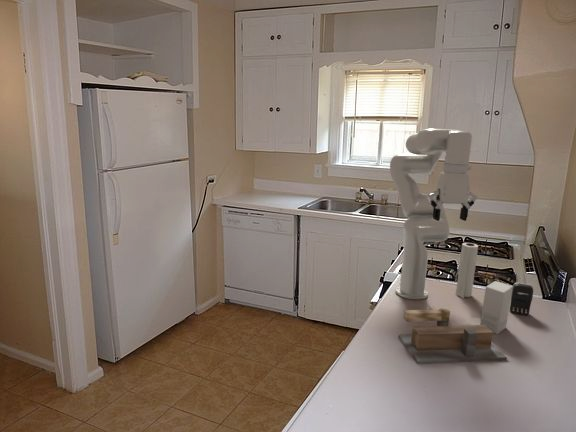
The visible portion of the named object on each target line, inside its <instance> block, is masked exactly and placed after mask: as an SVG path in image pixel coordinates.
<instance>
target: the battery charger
mask: <svg viewBox="0 0 576 432" xmlns="http://www.w3.org/2000/svg"><path fill="white" fill-rule="evenodd" d="M512 286H513V289H512V295H511V301H510V307H509V312H510V313H512V314H516V315H522V316H529V315H530V310H531V305H532V302H533V297H534V296H533V295H534V287H533V285H532V284H528V283H523V282H515V283H514V284H513V285H512Z"/></svg>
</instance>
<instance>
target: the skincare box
mask: <svg viewBox="0 0 576 432" xmlns="http://www.w3.org/2000/svg"><path fill="white" fill-rule="evenodd" d="M512 289H513V285H511V284H507V283H504V282H500V281H497V280H495V281H493V282H492V283H490V284H488V285H486V286H485V291H484V297H483V305H482V309H481V311H482V312H481V317H480V322H479V325H485V326H486V327H487V328H489V329H490V330H491V331H492V332H493V334H495V335H498V334H500V333H501V332H502V331H503V330H504V329H506V328H507V324H508V323H507V322H508V317H509V312H510V310H509V309H510V303H511V295H512Z"/></svg>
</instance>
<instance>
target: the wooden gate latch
mask: <svg viewBox="0 0 576 432" xmlns="http://www.w3.org/2000/svg"><path fill="white" fill-rule="evenodd" d="M449 324H450V320H449V321H447V322H444V321H436V325H434V326H433V325H432V326H429V325H428V326H412V328H411V333H407V334H405V333H402V334H398V336H397V338H398V339H399V340H400V341H401V343H402V345H403V346H404V347H405V348H406V350H407V351H408V353H409V354H410V355H411V357H412V358H413V359H414V361H415V362H416V363H417V364H437V363H438V364H439V363H440V364H442V363H464V362H466V363H467V362H469V363H470V362H471V363H472V362H495V361H507V359H508V356H506V355H505V354H504V353H503V352H502V351H501V350H499V349H498V347H496V346H495V345H494V344H493V343H492V341H493V336H494V333H493V332H492V331H491V330H490V329H489V328H487V327H486V326H485V325H480V324H472V325H471V324H469V325H467V324H466V325H449Z"/></svg>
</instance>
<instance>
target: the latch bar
mask: <svg viewBox="0 0 576 432" xmlns="http://www.w3.org/2000/svg"><path fill="white" fill-rule="evenodd" d="M450 315H451V311H450V310H449V309H447V308H439V309H413V310H412V309H407V310H405V309H404V311H403V320H404V321H405V322H406V323H407V322H408V323H409V322H410V323H411V322H412V323H414V322H437V321H444V322H447V321H449V322H450V317H451V316H450Z"/></svg>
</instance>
